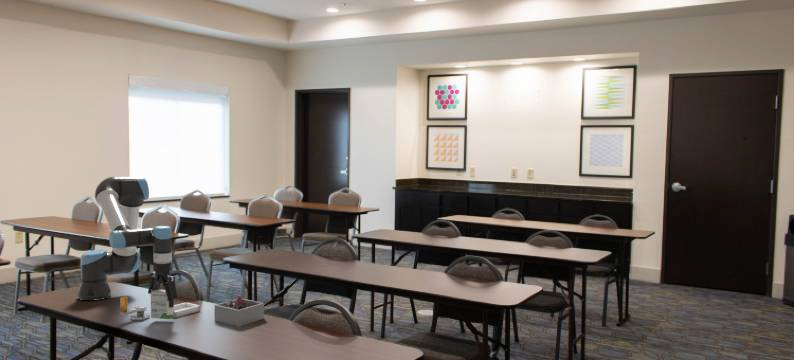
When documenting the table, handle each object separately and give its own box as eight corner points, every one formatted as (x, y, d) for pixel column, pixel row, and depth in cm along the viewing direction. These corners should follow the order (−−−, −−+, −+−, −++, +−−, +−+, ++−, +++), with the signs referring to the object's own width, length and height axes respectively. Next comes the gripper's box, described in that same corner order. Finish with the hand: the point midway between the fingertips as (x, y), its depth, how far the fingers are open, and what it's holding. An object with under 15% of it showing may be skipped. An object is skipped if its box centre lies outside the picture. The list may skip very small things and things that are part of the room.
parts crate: (214, 320, 272) (214, 305, 271) (240, 312, 284) (240, 298, 284) (238, 326, 264) (238, 310, 263) (263, 318, 276) (263, 303, 276)
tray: (160, 314, 280) (160, 308, 280) (186, 307, 292) (186, 302, 292) (174, 317, 275) (174, 312, 275) (200, 310, 287) (200, 305, 286)
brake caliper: (245, 319, 267) (231, 296, 268) (228, 332, 270) (213, 309, 271) (258, 312, 278) (244, 290, 279) (241, 324, 281) (227, 302, 282)
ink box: (174, 316, 271) (174, 289, 270) (169, 319, 266) (169, 292, 265) (155, 314, 272) (155, 288, 271) (150, 318, 267) (150, 291, 266)
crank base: (126, 318, 273) (126, 311, 272) (142, 314, 279) (142, 307, 279) (137, 321, 268) (137, 314, 268) (153, 317, 275) (153, 310, 275)
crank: (141, 308, 277) (141, 291, 277) (148, 310, 274) (148, 293, 274) (117, 314, 267) (117, 297, 267) (124, 316, 264) (124, 298, 264)
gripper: (139, 259, 270) (139, 309, 271) (171, 266, 258) (171, 319, 259) (154, 257, 276) (154, 306, 278) (186, 264, 264) (186, 315, 266)
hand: (162, 312), depth 269 cm, fingers closed on ink box, 9 cm apart
